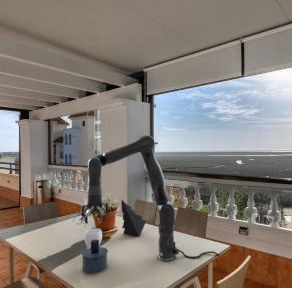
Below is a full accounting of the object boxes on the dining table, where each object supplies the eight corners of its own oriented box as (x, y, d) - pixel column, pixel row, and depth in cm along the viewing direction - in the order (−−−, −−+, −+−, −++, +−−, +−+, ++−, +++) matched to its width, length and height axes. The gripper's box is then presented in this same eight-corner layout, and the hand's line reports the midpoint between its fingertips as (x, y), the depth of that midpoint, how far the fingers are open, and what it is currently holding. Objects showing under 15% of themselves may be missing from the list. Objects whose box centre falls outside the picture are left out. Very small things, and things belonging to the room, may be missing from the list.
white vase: (88, 251, 157) (87, 228, 157) (104, 251, 156) (104, 228, 157) (81, 259, 146) (81, 233, 146) (99, 259, 146) (98, 233, 146)
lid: (105, 247, 144) (105, 235, 144) (109, 256, 131) (109, 243, 131) (81, 251, 138) (81, 238, 138) (82, 261, 126) (82, 247, 126)
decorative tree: (124, 237, 190) (107, 206, 172) (132, 222, 202) (118, 191, 184) (141, 240, 184) (125, 208, 166) (148, 224, 196) (134, 192, 178)
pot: (104, 259, 145) (104, 245, 145) (109, 273, 129) (109, 257, 129) (81, 263, 140) (81, 248, 140) (84, 278, 124) (84, 261, 124)
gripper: (106, 191, 142) (106, 219, 141) (80, 193, 136) (80, 222, 136) (108, 193, 135) (109, 222, 134) (81, 195, 129) (81, 226, 129)
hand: (94, 222), depth 135 cm, fingers open, 8 cm apart
